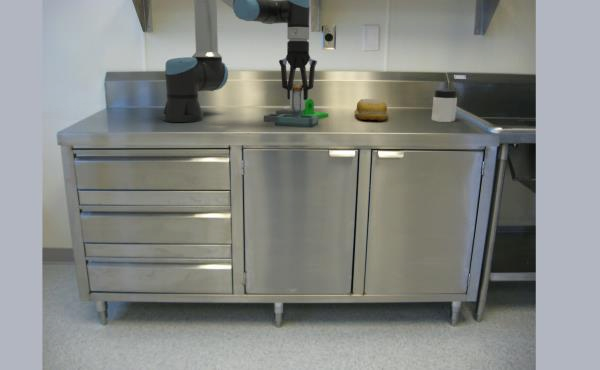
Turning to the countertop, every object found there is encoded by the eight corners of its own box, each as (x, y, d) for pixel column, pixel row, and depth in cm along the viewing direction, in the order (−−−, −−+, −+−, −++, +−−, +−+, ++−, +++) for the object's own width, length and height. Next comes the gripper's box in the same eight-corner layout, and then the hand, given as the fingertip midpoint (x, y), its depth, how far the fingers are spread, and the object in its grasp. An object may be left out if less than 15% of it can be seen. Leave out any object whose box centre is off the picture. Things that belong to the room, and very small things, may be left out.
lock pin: (289, 122, 177) (290, 85, 174) (292, 120, 181) (293, 84, 178) (301, 122, 176) (302, 85, 173) (304, 121, 180) (305, 84, 177)
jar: (458, 122, 193) (461, 91, 190) (441, 123, 190) (444, 91, 187) (445, 119, 201) (447, 89, 198) (427, 120, 198) (430, 89, 195)
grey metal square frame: (263, 121, 188) (263, 115, 187) (269, 119, 194) (269, 113, 194) (281, 121, 186) (281, 116, 186) (286, 119, 193) (286, 114, 192)
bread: (355, 122, 189) (356, 101, 187) (352, 115, 215) (353, 96, 213) (391, 123, 189) (392, 102, 187) (384, 115, 214) (385, 97, 212)
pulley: (272, 117, 198) (272, 107, 197) (279, 115, 207) (279, 105, 206) (294, 118, 196) (294, 108, 195) (300, 116, 204) (300, 106, 203)
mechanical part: (313, 120, 193) (314, 99, 191) (301, 119, 196) (301, 99, 194) (331, 118, 202) (331, 98, 200) (319, 117, 206) (319, 97, 204)
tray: (275, 125, 176) (275, 116, 176) (283, 122, 185) (283, 114, 184) (312, 127, 173) (312, 118, 172) (318, 123, 182) (318, 115, 181)
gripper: (272, 40, 171) (272, 109, 176) (318, 40, 166) (317, 110, 172) (278, 40, 178) (278, 107, 183) (323, 41, 174) (322, 109, 179)
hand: (297, 108), depth 178 cm, fingers closed on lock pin, 3 cm apart
